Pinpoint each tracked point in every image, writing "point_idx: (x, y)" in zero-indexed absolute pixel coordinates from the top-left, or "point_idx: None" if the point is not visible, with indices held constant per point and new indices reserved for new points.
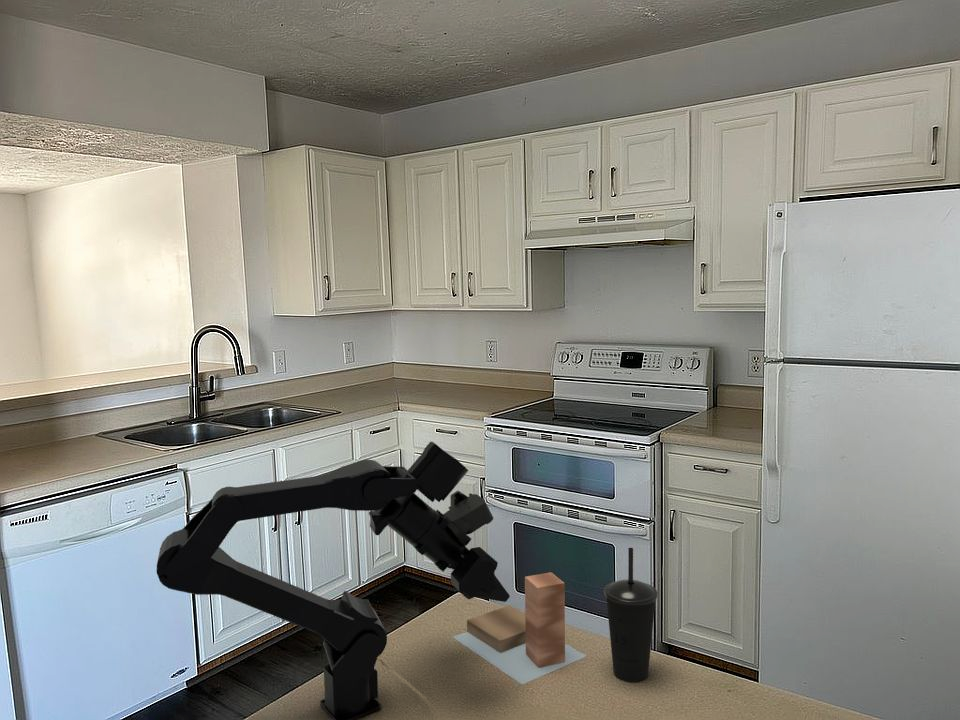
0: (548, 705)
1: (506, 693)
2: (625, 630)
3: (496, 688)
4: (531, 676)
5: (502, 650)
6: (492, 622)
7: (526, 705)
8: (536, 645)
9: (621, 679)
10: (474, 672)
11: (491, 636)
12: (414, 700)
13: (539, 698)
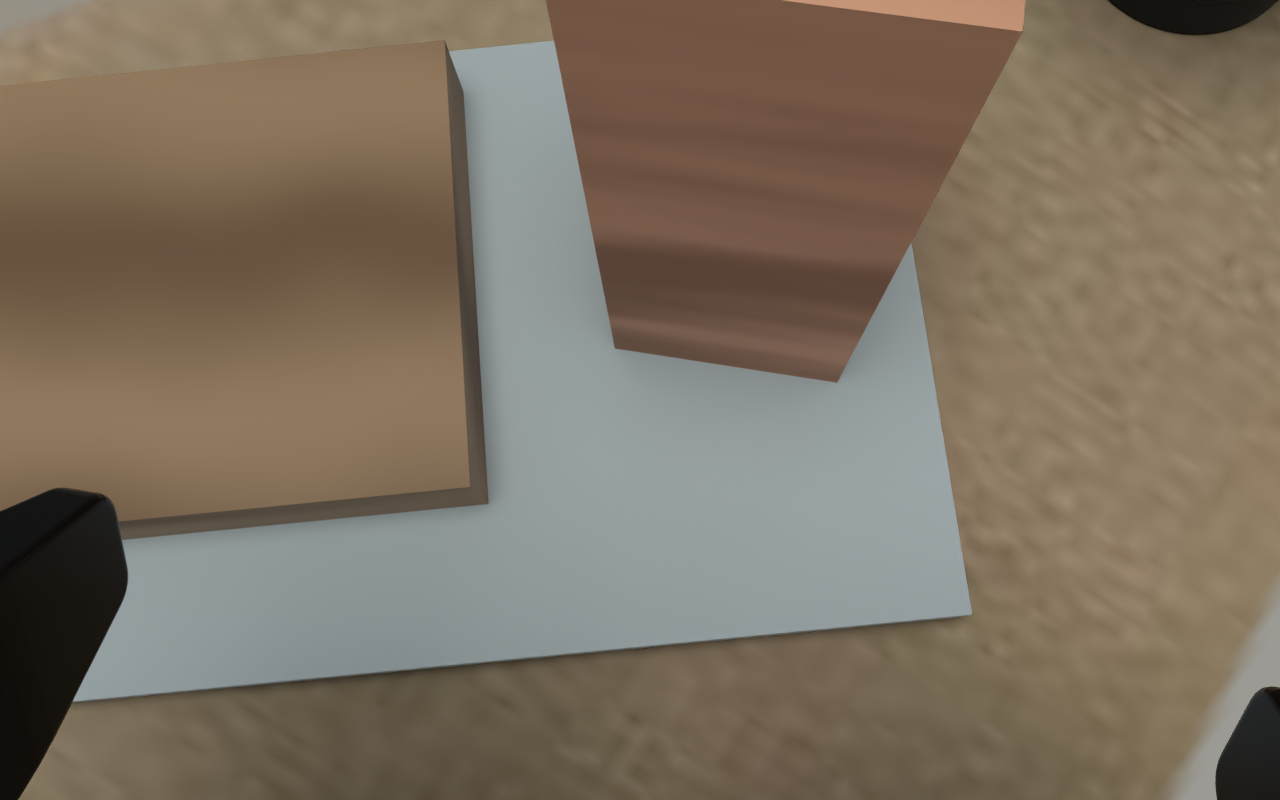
0: (1204, 561)
1: (928, 734)
2: None
3: (832, 762)
4: (911, 491)
5: (484, 478)
6: (159, 368)
7: (1134, 695)
8: (827, 327)
9: (1252, 5)
10: (547, 787)
11: (347, 499)
12: None
13: (1099, 564)
